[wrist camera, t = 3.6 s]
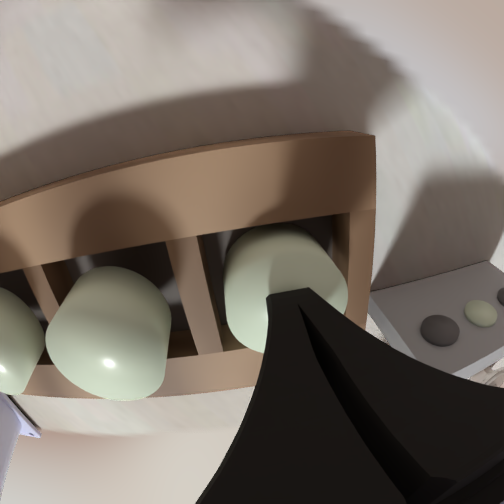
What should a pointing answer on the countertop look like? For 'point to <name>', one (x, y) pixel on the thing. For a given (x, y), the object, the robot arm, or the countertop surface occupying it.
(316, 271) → the button
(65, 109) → the countertop surface
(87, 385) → the button mid
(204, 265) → the wooden compartment tray
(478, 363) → the card
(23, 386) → the button
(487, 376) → the screw
